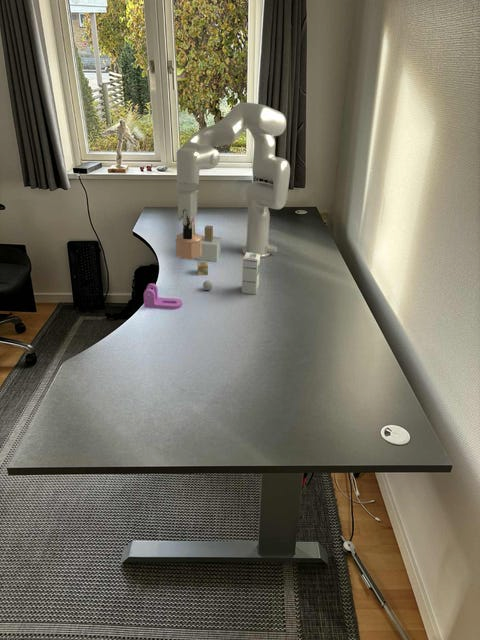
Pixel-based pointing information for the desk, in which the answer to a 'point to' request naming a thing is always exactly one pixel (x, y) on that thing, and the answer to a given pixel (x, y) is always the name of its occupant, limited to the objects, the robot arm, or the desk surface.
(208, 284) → the grey ball
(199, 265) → the beech cube
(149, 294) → the bracket
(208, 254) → the white block
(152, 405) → the desk surface
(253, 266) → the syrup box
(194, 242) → the wooden octagon with knob
